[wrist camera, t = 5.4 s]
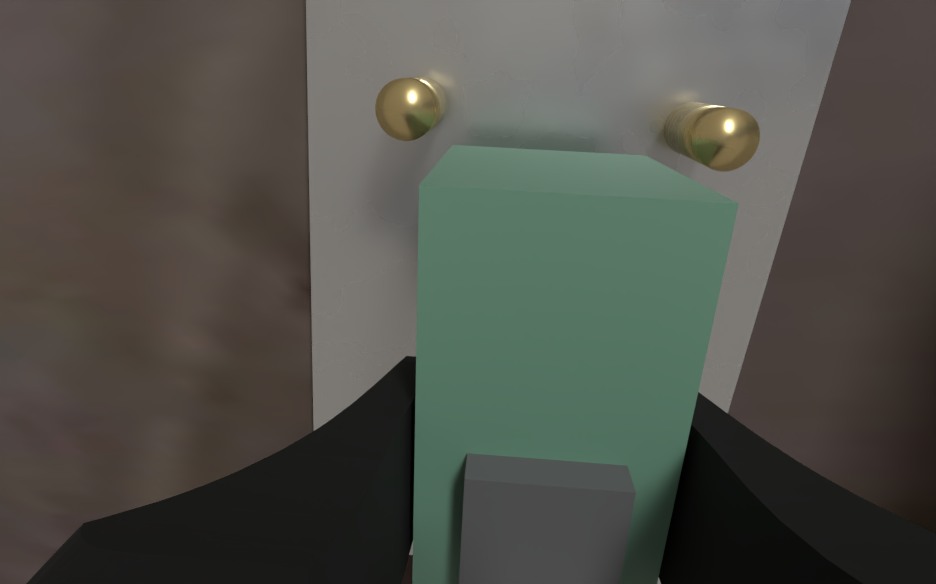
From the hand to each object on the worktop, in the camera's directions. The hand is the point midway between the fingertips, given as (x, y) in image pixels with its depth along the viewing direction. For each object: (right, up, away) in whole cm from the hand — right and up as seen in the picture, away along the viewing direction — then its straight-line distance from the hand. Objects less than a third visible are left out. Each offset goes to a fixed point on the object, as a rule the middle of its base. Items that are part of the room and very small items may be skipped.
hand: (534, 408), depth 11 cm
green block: (0, +2, +2) cm, 2 cm away
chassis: (0, +2, +5) cm, 6 cm away
